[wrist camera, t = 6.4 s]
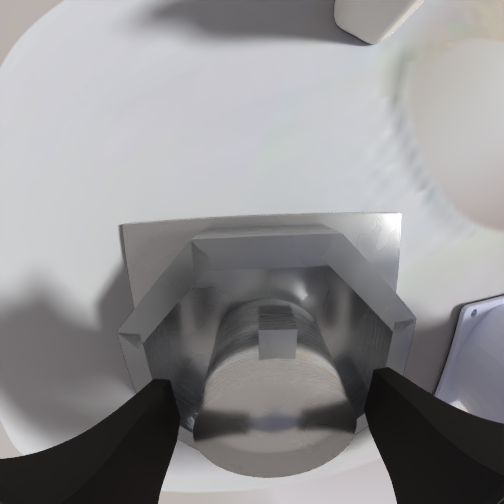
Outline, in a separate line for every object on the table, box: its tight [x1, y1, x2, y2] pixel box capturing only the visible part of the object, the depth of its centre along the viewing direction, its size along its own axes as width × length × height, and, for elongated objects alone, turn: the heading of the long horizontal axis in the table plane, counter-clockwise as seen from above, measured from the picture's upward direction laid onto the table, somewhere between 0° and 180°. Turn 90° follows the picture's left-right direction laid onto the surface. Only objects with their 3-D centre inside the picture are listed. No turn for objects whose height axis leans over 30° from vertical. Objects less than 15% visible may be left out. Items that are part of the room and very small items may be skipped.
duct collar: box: [117, 213, 416, 451], centre depth 11 cm, size 12×12×3 cm
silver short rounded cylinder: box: [193, 299, 357, 478], centre depth 9 cm, size 6×5×6 cm
